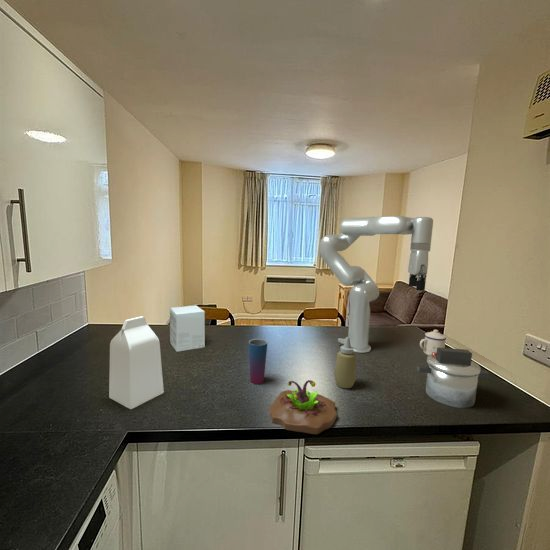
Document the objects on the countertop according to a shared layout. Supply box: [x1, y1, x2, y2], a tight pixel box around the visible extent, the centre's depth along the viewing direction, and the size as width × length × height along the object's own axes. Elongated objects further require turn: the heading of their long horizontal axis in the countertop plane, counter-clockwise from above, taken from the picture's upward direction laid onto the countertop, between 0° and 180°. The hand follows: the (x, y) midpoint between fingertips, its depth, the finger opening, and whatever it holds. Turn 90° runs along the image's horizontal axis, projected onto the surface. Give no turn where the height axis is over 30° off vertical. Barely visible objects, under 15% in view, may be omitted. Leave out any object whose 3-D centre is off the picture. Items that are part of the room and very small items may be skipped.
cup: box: [248, 338, 268, 385], centre depth 113 cm, size 7×7×15 cm
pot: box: [416, 363, 490, 409], centre depth 108 cm, size 23×15×11 cm, turn 83°
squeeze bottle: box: [333, 336, 357, 389], centre depth 112 cm, size 8×8×18 cm
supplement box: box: [169, 304, 206, 353], centre depth 146 cm, size 13×13×18 cm
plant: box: [268, 379, 338, 435], centre depth 94 cm, size 20×20×11 cm
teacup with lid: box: [419, 329, 447, 356], centre depth 146 cm, size 12×9×12 cm
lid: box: [426, 347, 482, 377], centre depth 107 cm, size 16×16×6 cm
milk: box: [108, 315, 165, 410], centre depth 100 cm, size 12×12×26 cm
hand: (416, 288), depth 130 cm, fingers open, 9 cm apart
